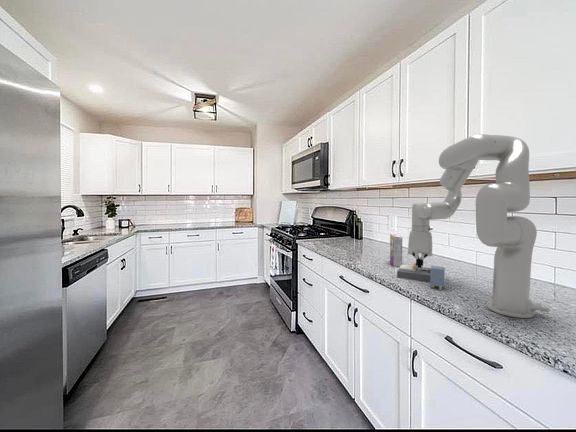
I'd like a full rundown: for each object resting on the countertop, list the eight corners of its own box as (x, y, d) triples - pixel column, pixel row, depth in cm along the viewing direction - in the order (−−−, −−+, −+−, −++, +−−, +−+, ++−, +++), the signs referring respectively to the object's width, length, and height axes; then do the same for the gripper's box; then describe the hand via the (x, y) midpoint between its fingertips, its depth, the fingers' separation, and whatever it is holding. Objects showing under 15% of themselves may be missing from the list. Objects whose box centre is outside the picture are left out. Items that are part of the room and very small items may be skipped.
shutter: (417, 267, 135) (417, 262, 135) (415, 271, 129) (415, 266, 128) (401, 265, 139) (401, 261, 139) (398, 269, 132) (399, 264, 132)
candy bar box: (389, 262, 160) (389, 234, 159) (398, 262, 159) (398, 234, 158) (392, 267, 149) (393, 237, 148) (402, 267, 148) (402, 237, 147)
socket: (437, 274, 134) (437, 268, 133) (435, 282, 122) (435, 276, 122) (401, 270, 142) (402, 264, 142) (397, 277, 130) (397, 271, 130)
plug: (444, 287, 116) (444, 267, 115) (443, 290, 112) (444, 269, 111) (430, 285, 118) (431, 265, 118) (430, 288, 115) (430, 268, 114)
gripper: (438, 229, 129) (437, 267, 130) (404, 227, 137) (404, 263, 138) (437, 230, 123) (436, 271, 124) (402, 229, 131) (401, 267, 132)
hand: (419, 267), depth 131 cm, fingers closed
